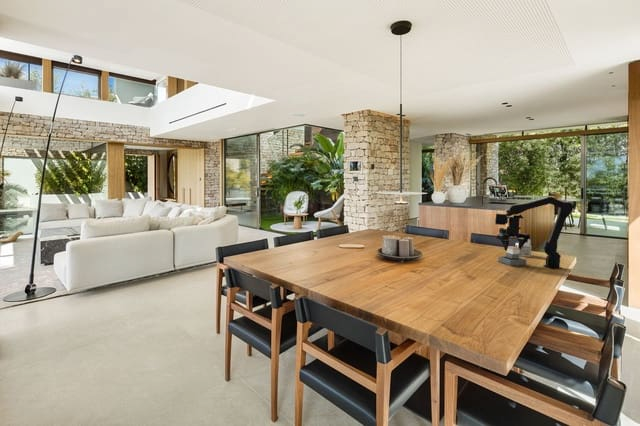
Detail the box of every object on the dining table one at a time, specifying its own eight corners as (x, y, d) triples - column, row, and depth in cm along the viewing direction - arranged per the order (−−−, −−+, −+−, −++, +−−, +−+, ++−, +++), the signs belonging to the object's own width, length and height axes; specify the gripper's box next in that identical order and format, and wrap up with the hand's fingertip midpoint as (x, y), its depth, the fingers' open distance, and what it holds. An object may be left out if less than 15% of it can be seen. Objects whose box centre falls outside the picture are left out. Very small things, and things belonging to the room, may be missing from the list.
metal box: (518, 263, 200) (519, 253, 200) (511, 263, 200) (511, 254, 199) (512, 261, 205) (513, 251, 205) (505, 261, 204) (506, 252, 204)
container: (518, 256, 221) (519, 237, 220) (514, 253, 228) (515, 235, 227) (531, 257, 219) (532, 237, 217) (527, 254, 226) (528, 235, 225)
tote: (526, 265, 198) (526, 259, 198) (510, 266, 196) (510, 260, 196) (513, 261, 208) (513, 255, 208) (498, 261, 207) (498, 256, 207)
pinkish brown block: (519, 253, 199) (519, 248, 199) (512, 254, 199) (513, 248, 198) (512, 251, 205) (512, 246, 205) (505, 251, 204) (506, 246, 204)
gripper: (517, 223, 209) (516, 247, 211) (491, 224, 206) (490, 248, 208) (531, 225, 198) (530, 250, 200) (503, 226, 195) (502, 252, 197)
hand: (512, 250), depth 202 cm, fingers open, 9 cm apart
